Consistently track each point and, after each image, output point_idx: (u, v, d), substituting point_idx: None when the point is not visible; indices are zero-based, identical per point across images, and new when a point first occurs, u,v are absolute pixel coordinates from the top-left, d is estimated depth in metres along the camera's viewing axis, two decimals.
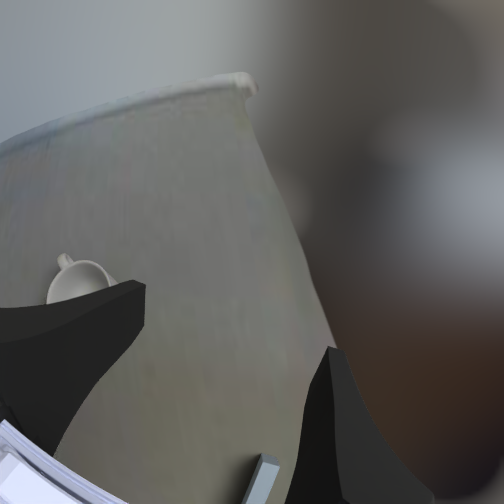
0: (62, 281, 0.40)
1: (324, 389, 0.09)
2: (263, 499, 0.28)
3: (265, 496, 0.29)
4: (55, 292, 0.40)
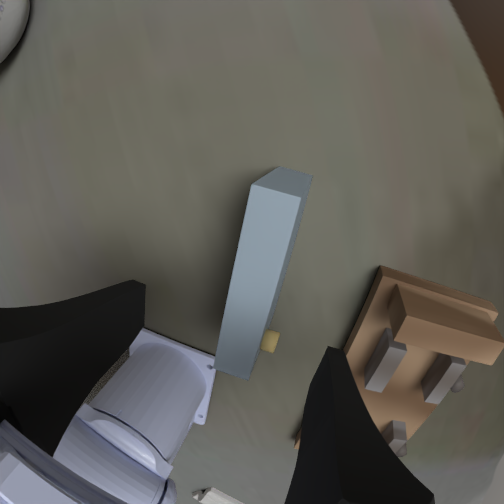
0: None
1: (324, 389, 0.09)
2: (266, 297, 0.14)
3: (270, 289, 0.14)
4: None
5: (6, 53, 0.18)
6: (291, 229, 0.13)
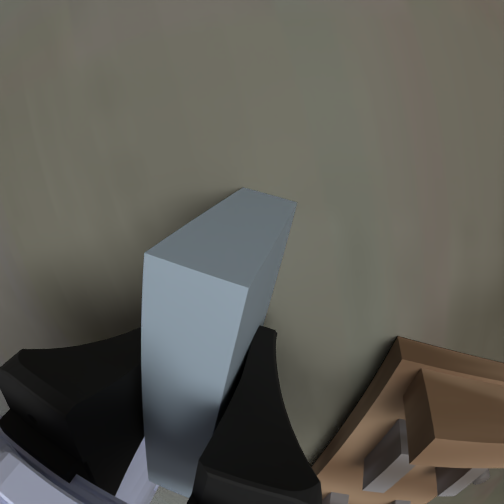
0: None
1: None
2: (200, 432, 0.07)
3: (205, 424, 0.07)
4: None
5: None
6: (232, 345, 0.06)
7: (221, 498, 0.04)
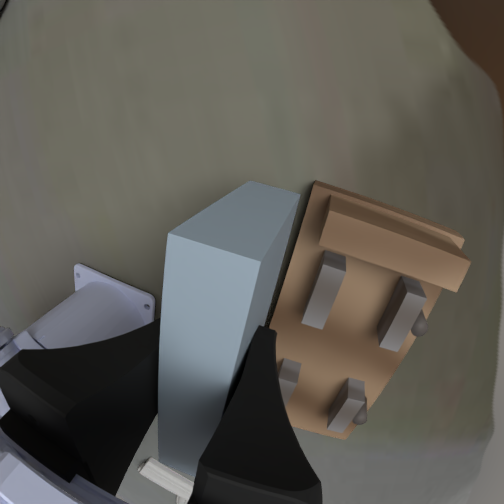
0: None
1: None
2: (212, 405, 0.08)
3: (217, 396, 0.08)
4: None
5: None
6: (245, 316, 0.07)
7: (221, 498, 0.04)
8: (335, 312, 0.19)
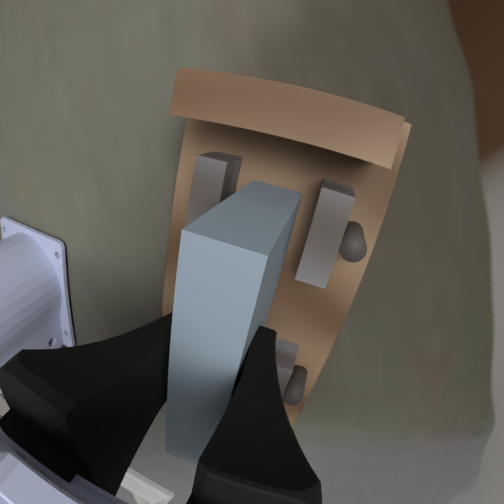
0: None
1: None
2: (220, 392, 0.09)
3: (225, 384, 0.09)
4: None
5: None
6: (252, 306, 0.07)
7: (221, 498, 0.04)
8: None
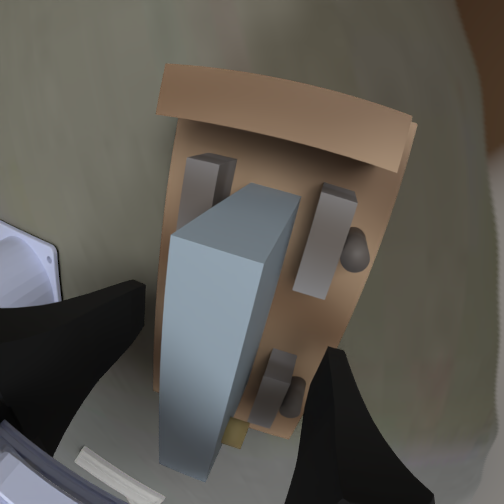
0: None
1: (324, 389, 0.09)
2: (214, 407, 0.08)
3: (219, 398, 0.08)
4: None
5: None
6: (247, 318, 0.07)
7: None
8: None
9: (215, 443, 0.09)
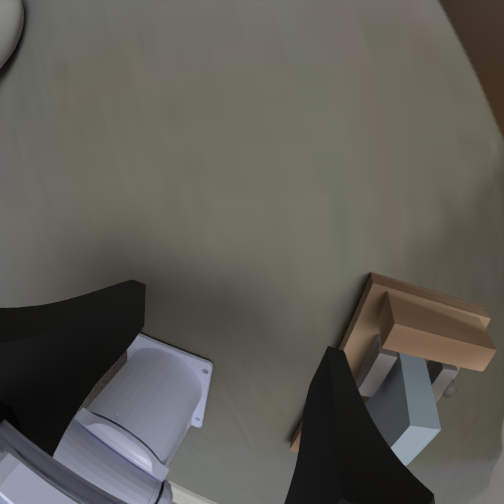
0: None
1: (324, 389, 0.09)
2: None
3: None
4: None
5: (2, 63, 0.18)
6: (426, 443, 0.13)
7: None
8: None
9: None
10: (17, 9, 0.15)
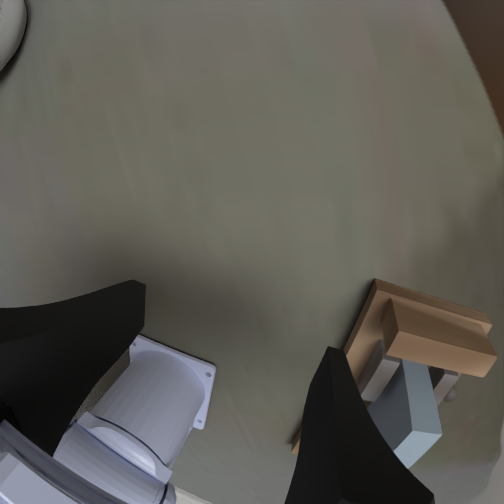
0: None
1: (324, 389, 0.09)
2: None
3: None
4: None
5: (4, 63, 0.18)
6: (428, 448, 0.13)
7: None
8: None
9: None
10: (20, 8, 0.15)
